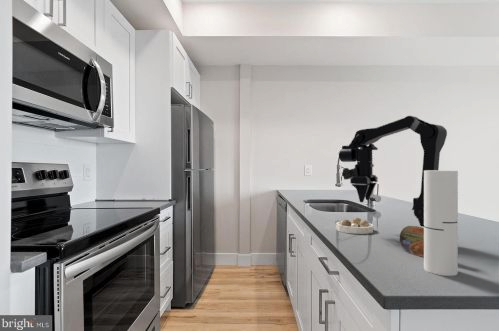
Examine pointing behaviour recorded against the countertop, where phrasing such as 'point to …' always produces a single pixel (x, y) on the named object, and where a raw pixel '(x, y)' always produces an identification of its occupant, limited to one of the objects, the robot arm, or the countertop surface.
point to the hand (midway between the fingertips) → (364, 201)
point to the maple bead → (364, 223)
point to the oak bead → (357, 221)
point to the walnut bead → (346, 223)
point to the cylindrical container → (441, 222)
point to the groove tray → (354, 228)
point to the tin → (413, 240)
